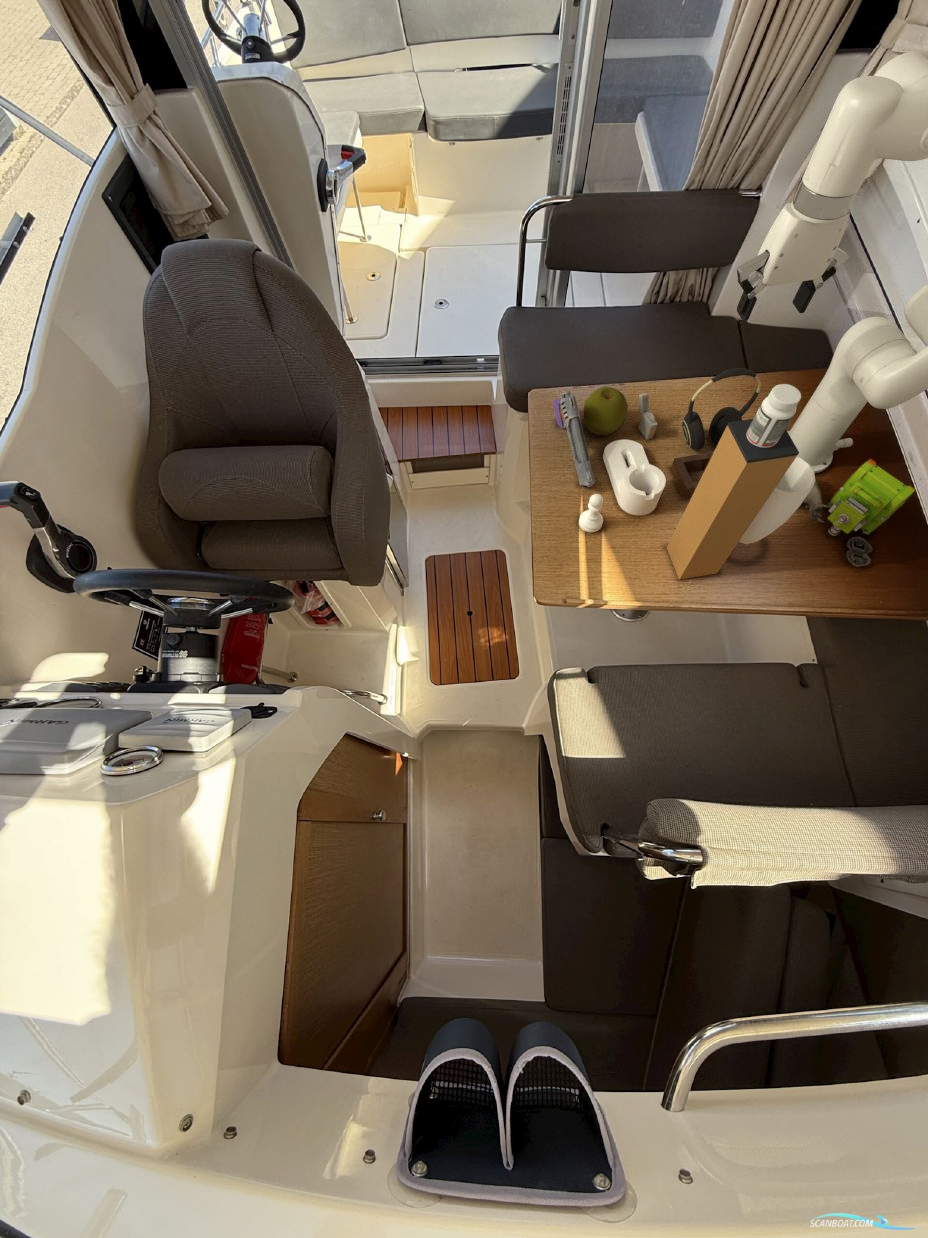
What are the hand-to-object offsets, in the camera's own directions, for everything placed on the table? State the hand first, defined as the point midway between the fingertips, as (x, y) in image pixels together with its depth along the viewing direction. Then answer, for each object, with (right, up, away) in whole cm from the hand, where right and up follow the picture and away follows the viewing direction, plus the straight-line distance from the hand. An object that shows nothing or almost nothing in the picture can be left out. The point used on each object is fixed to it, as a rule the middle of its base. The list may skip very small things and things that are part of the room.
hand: (769, 311), depth 95 cm
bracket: (-14, -20, +34) cm, 41 cm away
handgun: (-26, -10, +43) cm, 51 cm away
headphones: (+5, -10, +38) cm, 40 cm away
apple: (-18, -6, +41) cm, 45 cm away
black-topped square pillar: (-4, -39, +23) cm, 46 cm away
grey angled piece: (-9, -6, +40) cm, 42 cm away
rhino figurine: (+22, -27, +28) cm, 45 cm away
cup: (+7, -35, +25) cm, 44 cm away
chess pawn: (-24, -31, +29) cm, 48 cm away
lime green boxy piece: (+34, -25, +21) cm, 47 cm away
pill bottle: (-5, -23, -7) cm, 25 cm away
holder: (+1, -20, +33) cm, 38 cm away
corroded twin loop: (+30, -38, +23) cm, 53 cm away
